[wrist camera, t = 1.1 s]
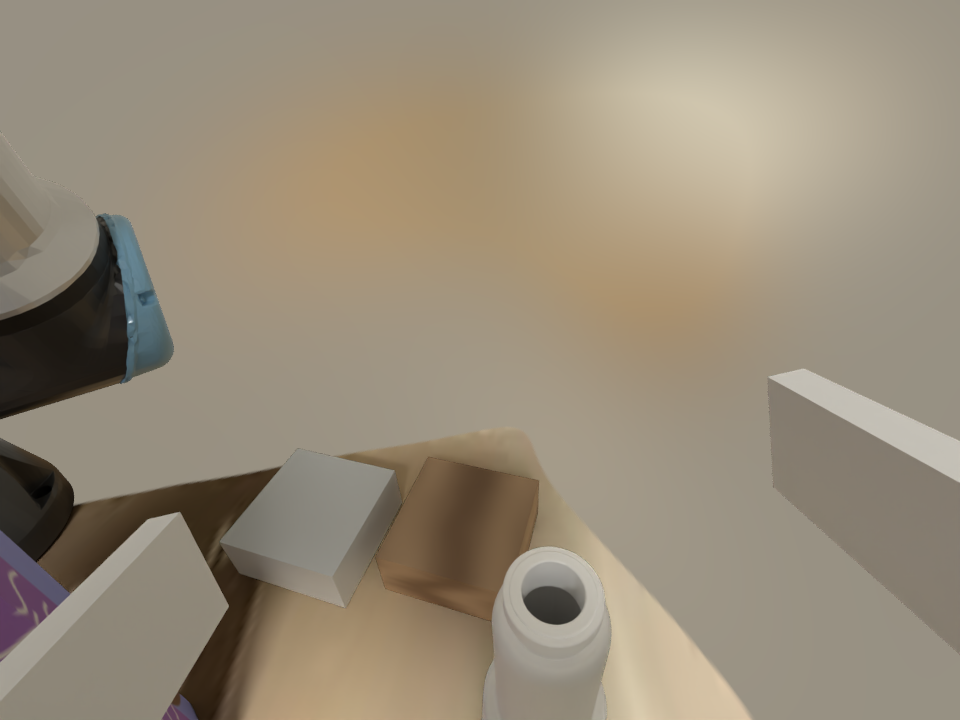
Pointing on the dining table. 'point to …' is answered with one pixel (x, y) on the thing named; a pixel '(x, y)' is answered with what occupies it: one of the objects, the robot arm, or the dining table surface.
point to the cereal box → (41, 608)
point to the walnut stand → (458, 536)
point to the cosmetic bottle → (548, 641)
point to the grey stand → (315, 526)
